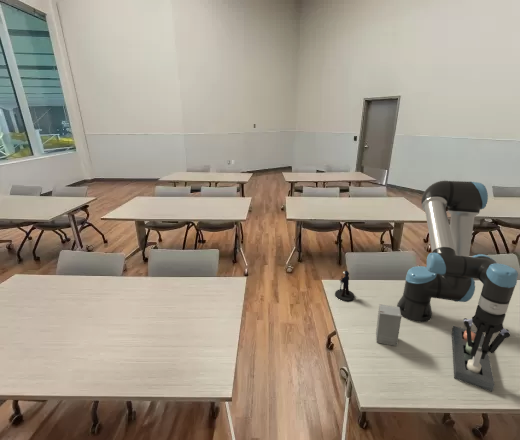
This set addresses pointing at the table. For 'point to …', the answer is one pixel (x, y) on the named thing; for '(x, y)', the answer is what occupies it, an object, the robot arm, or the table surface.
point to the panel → (461, 360)
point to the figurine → (342, 293)
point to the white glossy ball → (473, 367)
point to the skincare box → (388, 324)
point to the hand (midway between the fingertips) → (474, 363)
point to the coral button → (471, 335)
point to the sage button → (468, 348)
